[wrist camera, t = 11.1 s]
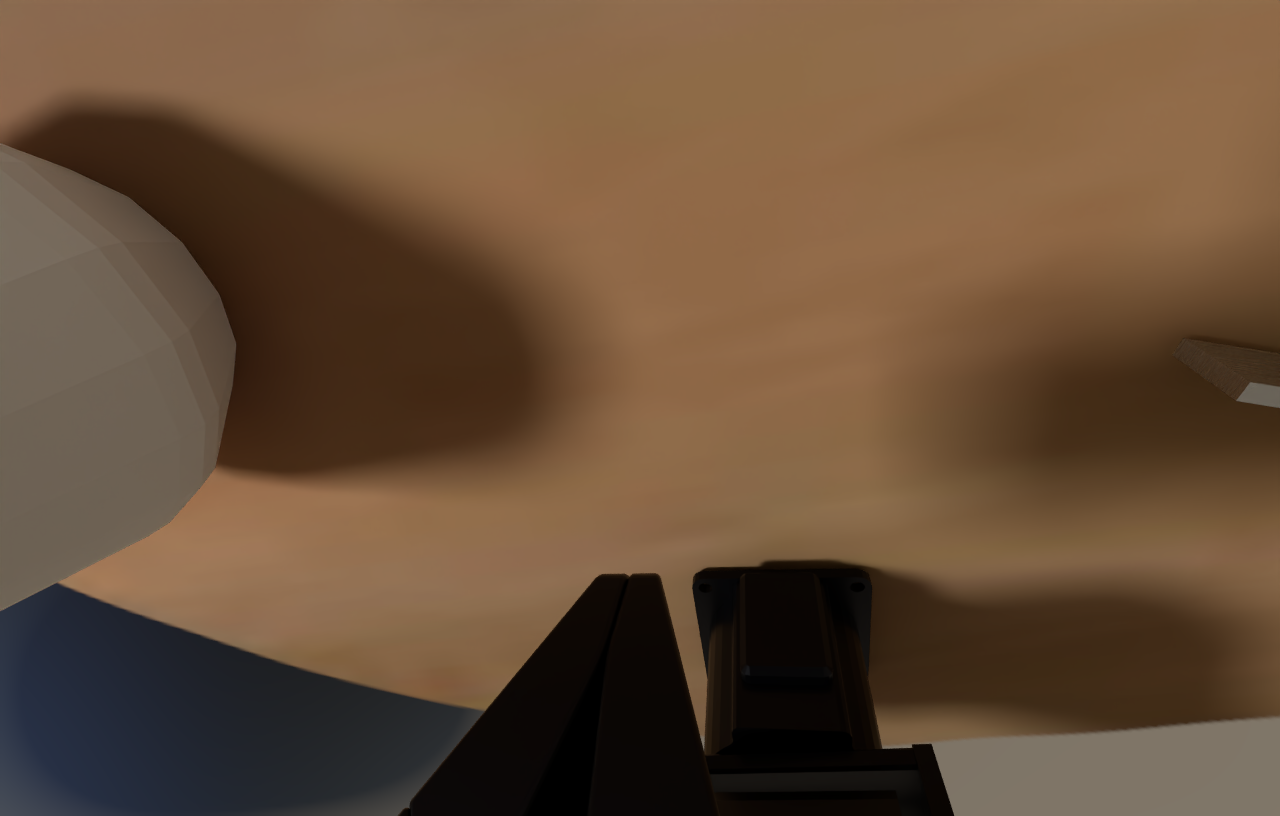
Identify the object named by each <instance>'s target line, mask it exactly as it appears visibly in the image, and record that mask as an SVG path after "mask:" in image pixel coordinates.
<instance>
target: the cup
mask: <svg viewBox="0 0 1280 816" xmlns="http://www.w3.org/2000/svg"><path fill="white" fill-rule="evenodd" d="M235 354H236V341H235V338H234V335H233V333H232V330H231V327H230V324H229V321H228V318H227V315H226V312H225V309H224V306H223V303H222V301H221V298H220V295H219V293H218V292H217V290H216V289H215V287H214V286H213V285H212V283H211V282H210V280H209V279H208V278H207V276H206V275H205V274H204V272H203V271H202V269H201V268H200V267H199V265H198V264H197V262H196V261H195V260H194V258H193V257H192V255H191V254H190V253H189V251H188V250H187V248H186V247H185V246H184V244H183V243H182V242H181V241H180V240H179V239H178V238H177V237H175V236H174V235H173V234H172V233H171V232H169V231H168V230H167V229H166V228H165V227H164V226H162V225H161V224H160V223H159V222H158V221H156V220H155V219H154V218H153V217H152V216H151V215H149V214H148V213H147V212H146V211H145V210H144V209H142V208H141V207H140V206H139V205H138V204H136V203H135V202H134V201H133V200H132V199H131V198H129V197H128V196H125V195H123V194H121V193H119V192H117V191H115V190H113V189H111V188H108V187H106V186H104V185H102V184H100V183H98V182H96V181H94V180H91V179H89V178H87V177H85V176H83V175H81V174H79V173H77V172H75V171H72V170H70V169H68V168H65V167H62V166H60V165H57V164H54V163H52V162H49V161H46V160H44V159H41V158H38V157H36V156H33V155H30V154H28V153H25V152H22V151H20V150H17V149H14V148H12V147H9V146H7V145H4V144H1V143H0V611H1V610H3V609H5V608H7V607H9V606H11V605H13V604H15V603H17V602H19V601H21V600H23V599H25V598H27V597H29V596H31V595H33V594H35V593H37V592H39V591H41V590H42V589H45V588H47V587H49V586H51V585H52V584H55V583H57V582H59V581H61V580H63V579H65V578H67V577H69V576H71V575H73V574H75V573H77V572H78V571H80V570H82V569H84V568H86V567H88V566H90V565H92V564H94V563H96V562H98V561H100V560H102V559H104V558H106V557H108V556H110V555H112V554H114V553H116V552H118V551H120V550H122V549H124V548H126V547H128V546H130V545H132V544H134V543H136V542H138V541H140V540H142V539H144V538H146V537H148V536H149V535H151V534H152V533H154V532H156V531H157V530H159V529H160V528H162V527H163V526H165V525H167V524H168V523H170V522H171V520H172V519H173V518H174V517H175V516H176V515H177V514H178V513H179V511H180V510H181V509H182V508H183V507H184V506H185V505H186V503H187V502H188V501H189V500H190V499H191V498H192V497H193V495H194V494H195V493H196V492H197V491H198V490H199V489H200V488H201V486H202V485H203V484H204V482H205V481H206V480H207V478H208V477H209V476H210V474H211V473H212V472H213V470H214V469H215V467H216V462H217V457H218V453H219V448H220V443H221V438H222V434H223V429H224V424H225V420H226V415H227V410H228V405H229V401H230V396H231V391H232V386H233V378H234V366H235Z"/></svg>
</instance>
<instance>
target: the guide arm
mask: <svg viewBox="0 0 1280 816" xmlns="http://www.w3.org/2000/svg"><path fill="white" fill-rule="evenodd" d="M1172 355H1173V356H1174V357H1176V358H1177V359H1178V360H1180V361H1181V362H1182V363H1184V364H1185V365H1187V366H1188V367H1189V368H1191V369H1192V370H1194V371H1195V372H1196V373H1198V374H1199V375H1201V376H1202V377H1203V378H1205V379H1206V380H1208V381H1209V382H1210V383H1212V384H1213V385H1215V386H1216V387H1217V388H1219V389H1220V390H1222V391H1223V392H1224V393H1226V394H1227V395H1229V396H1230V397H1231V398H1233V399H1234V400H1236V401H1240V402H1246V403H1252V404H1258V405H1265V406H1271V407H1277V408H1280V353H1275V352H1269V351H1262V350H1256V349H1250V348H1243V347H1237V346H1231V345H1224V344H1218V343H1212V342H1205V341H1199V340H1193V339H1186V338H1183V339H1182V341H1181V342H1180V344H1179V345H1178V347H1177V348H1176V350H1175V351H1174V353H1173V354H1172Z"/></svg>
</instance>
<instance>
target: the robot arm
mask: <svg viewBox="0 0 1280 816" xmlns="http://www.w3.org/2000/svg"><path fill="white" fill-rule="evenodd" d="M855 582H860V583H857V584H854V583H855ZM704 583H706V584H709V585H704ZM692 589H693V595H694V601H695V607H696V613H697V619H698V625H699V631H700V637H701V643H702V649H703V655H704V661H705V667H706V673H707V679H708V681H707V702H706V723H705V744H704V745H705V746H704V750H703V746H702V742H701V738H700V734H699V729H698V725H697V721H696V717H695V713H694V709H693V705H692V701H691V697H690V693H689V689H688V685H687V681H686V677H685V673H684V669H683V665H682V661H681V657H680V653H679V649H678V645H677V641H676V637H675V633H674V629H673V625H672V621H671V617H670V613H669V609H668V605H667V601H666V597H665V593H664V589H663V585H662V581H661V578H660V576H659V575H658V574H656V573H640V574H632V575H631V576H630V577H629V576H628V575H627V574H601V575H599V576H598V577H596V578H595V580H594V581H593V582H592V583H591V584H590V586H589V587H588V588H587V589H586V590H585V592H584V593H583V594H582V595H581V596H580V598H579V599H578V600H577V601H576V602H575V604H574V605H573V606H572V607H571V608H570V610H569V611H568V612H567V613H566V614H565V616H564V617H563V618H562V619H561V620H560V622H559V623H558V624H557V625H556V626H555V628H554V629H553V630H552V631H551V632H550V634H549V635H548V636H547V637H546V638H545V640H544V641H543V642H542V643H541V644H540V646H539V647H538V648H537V649H536V650H535V652H534V653H533V654H532V655H531V657H530V658H529V659H528V660H527V661H526V663H525V664H524V665H523V666H522V667H521V669H520V670H519V671H518V672H517V673H516V675H515V676H514V677H513V678H512V679H511V681H510V682H509V683H508V684H507V685H506V687H505V688H504V689H503V690H502V691H501V693H500V694H499V695H498V696H497V697H496V699H495V700H494V701H493V702H492V703H491V705H490V706H489V707H488V708H487V709H486V711H485V712H484V713H483V714H482V716H481V717H480V718H479V719H478V720H477V721H476V723H475V724H474V725H473V726H472V728H471V729H470V730H469V731H468V732H467V734H466V735H465V736H464V737H463V738H462V740H461V741H460V742H459V743H458V744H457V746H456V747H455V748H454V749H453V750H452V752H451V753H450V754H449V755H448V756H447V758H446V759H445V760H444V761H443V762H442V764H441V765H440V766H439V767H438V768H437V770H436V771H435V772H434V773H433V775H432V776H431V777H430V778H429V779H428V780H427V782H426V783H425V784H424V785H423V787H422V788H421V789H420V790H419V791H418V793H417V794H416V795H415V796H414V797H413V798H412V800H411V802H410V809H409V808H405V809H403V810H402V811H401V813H400V814H399V815H398V816H954V813H953V810H952V807H951V804H950V801H949V798H948V794H947V791H946V788H945V785H944V782H943V779H942V776H941V773H940V770H939V766H938V763H937V760H936V757H935V754H934V750H933V747H932V744H912V748H894V749H882V744H881V739H880V735H879V730H878V725H877V720H876V715H875V710H874V705H873V700H872V695H871V691H870V686H869V681H868V667H869V645H870V622H871V600H872V585H871V581H870V577H869V574H868V573H867V572H865V571H863V570H860V569H814V570H733V571H700V572H698V573H696V574H695V575H694V577H693V586H692Z"/></svg>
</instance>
